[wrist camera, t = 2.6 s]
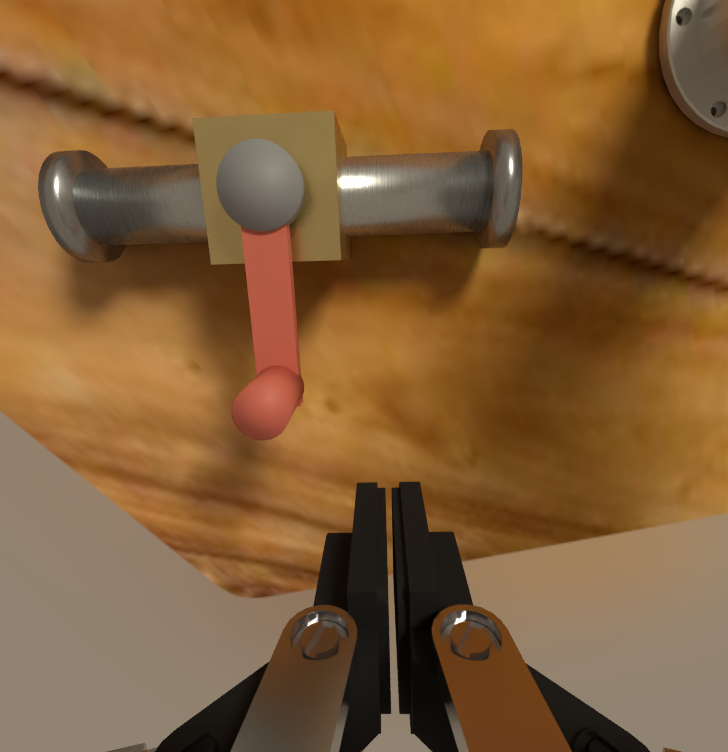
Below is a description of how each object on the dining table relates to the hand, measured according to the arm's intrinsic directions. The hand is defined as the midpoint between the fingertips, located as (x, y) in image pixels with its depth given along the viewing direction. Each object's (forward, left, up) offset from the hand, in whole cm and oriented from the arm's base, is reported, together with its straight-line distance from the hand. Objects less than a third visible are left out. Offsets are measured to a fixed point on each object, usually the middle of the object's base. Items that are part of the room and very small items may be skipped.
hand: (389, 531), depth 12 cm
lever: (+6, -6, -13) cm, 15 cm away
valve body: (+6, -10, -21) cm, 24 cm away
